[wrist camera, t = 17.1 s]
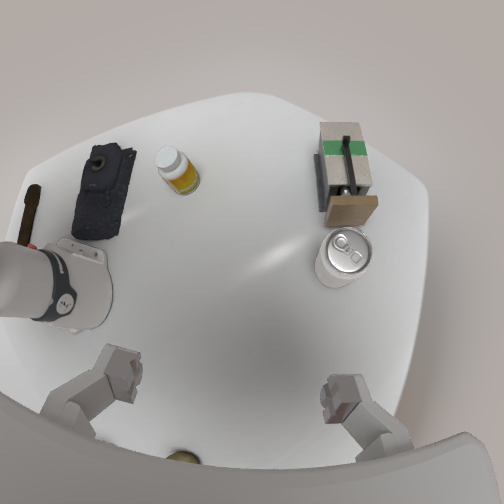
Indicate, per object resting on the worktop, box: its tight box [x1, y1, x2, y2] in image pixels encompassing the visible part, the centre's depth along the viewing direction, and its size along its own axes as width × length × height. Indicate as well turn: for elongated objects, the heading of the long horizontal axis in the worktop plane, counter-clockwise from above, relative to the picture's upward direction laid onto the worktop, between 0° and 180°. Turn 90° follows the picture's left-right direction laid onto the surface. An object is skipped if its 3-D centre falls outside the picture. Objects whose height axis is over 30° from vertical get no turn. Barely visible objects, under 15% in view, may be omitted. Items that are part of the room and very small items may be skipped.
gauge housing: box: [314, 122, 373, 212], centre depth 39 cm, size 10×7×10 cm, turn 0°
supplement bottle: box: [155, 146, 200, 195], centre depth 44 cm, size 5×5×10 cm
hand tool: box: [17, 184, 41, 247], centre depth 53 cm, size 19×4×5 cm, turn 174°
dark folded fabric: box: [71, 143, 137, 240], centre depth 50 cm, size 15×22×5 cm
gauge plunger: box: [325, 136, 378, 226], centre depth 36 cm, size 10×6×10 cm, turn 0°
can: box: [315, 227, 372, 288], centre depth 36 cm, size 6×6×12 cm
